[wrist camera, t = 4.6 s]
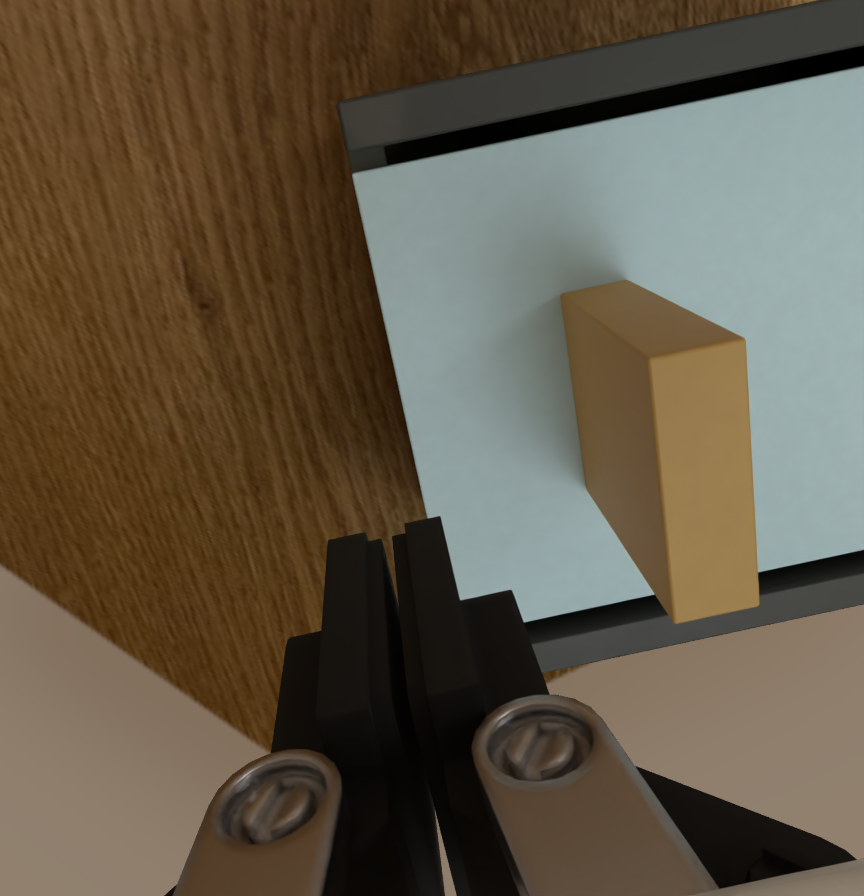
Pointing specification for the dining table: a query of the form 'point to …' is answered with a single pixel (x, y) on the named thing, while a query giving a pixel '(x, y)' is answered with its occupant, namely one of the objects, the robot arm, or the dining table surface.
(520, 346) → the box lid
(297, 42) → the dining table surface
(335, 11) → the dining table surface
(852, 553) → the display box
